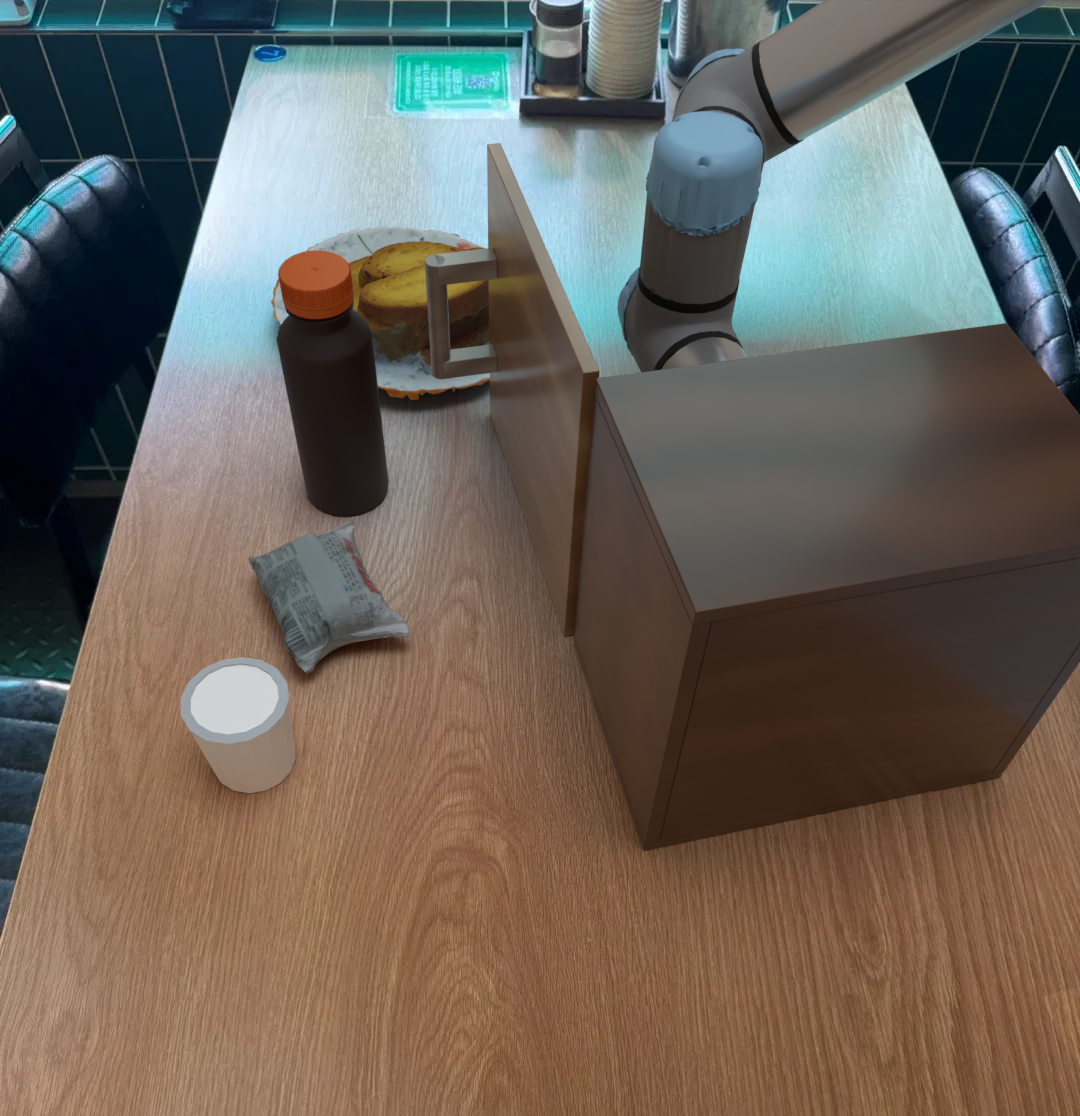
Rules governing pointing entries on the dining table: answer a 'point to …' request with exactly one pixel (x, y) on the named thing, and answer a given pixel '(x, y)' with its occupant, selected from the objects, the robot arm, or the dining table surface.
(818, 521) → the cupboard
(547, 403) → the cupboard door
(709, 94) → the robot arm
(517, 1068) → the dining table surface
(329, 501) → the bottle
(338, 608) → the packaged food
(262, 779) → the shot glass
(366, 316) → the food on plate
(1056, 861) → the dining table surface
